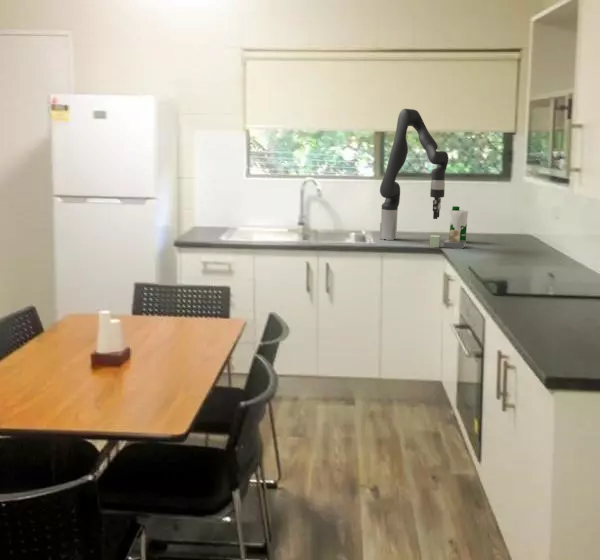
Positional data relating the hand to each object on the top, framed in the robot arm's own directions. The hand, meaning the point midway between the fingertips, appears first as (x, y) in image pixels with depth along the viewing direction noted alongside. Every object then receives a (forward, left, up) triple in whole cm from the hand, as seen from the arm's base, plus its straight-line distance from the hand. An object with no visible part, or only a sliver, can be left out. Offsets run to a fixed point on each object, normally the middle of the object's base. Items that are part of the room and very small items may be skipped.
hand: (436, 218), depth 460 cm
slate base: (+10, +4, -16) cm, 19 cm away
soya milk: (+10, +24, -16) cm, 30 cm away
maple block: (+10, +4, -13) cm, 17 cm away
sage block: (0, 0, -16) cm, 16 cm away
